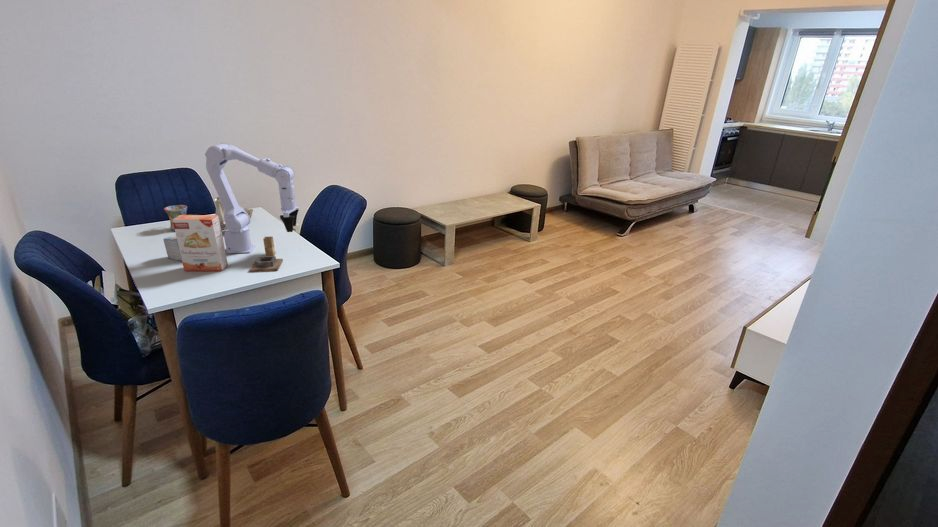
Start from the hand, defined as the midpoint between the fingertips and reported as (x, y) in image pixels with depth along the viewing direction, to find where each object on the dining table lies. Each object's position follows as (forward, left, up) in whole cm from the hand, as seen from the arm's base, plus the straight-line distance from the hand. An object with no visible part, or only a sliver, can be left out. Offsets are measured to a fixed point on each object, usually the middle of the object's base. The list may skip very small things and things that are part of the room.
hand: (291, 228), depth 188 cm
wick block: (-9, -5, -10) cm, 14 cm away
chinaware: (-35, +37, -11) cm, 52 cm away
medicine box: (-44, -4, -10) cm, 45 cm away
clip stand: (-8, -16, -10) cm, 20 cm away
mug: (-59, +35, -10) cm, 69 cm away
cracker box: (-30, -16, -10) cm, 35 cm away
